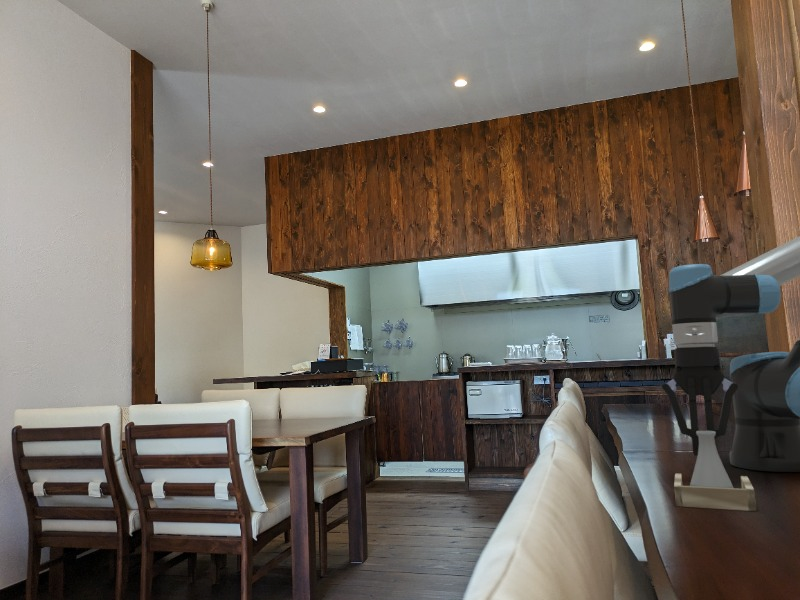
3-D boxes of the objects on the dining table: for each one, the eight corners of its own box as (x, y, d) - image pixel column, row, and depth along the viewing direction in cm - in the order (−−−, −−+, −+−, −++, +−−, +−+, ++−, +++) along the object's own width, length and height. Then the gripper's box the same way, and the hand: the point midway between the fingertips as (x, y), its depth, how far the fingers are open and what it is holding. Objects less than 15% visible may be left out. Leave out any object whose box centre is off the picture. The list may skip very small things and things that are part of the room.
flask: (741, 493, 98) (735, 433, 99) (695, 493, 99) (689, 434, 100) (726, 485, 105) (720, 429, 106) (683, 484, 106) (678, 429, 107)
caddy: (676, 490, 102) (675, 473, 102) (749, 494, 97) (747, 476, 97) (675, 506, 91) (674, 486, 92) (756, 511, 87) (754, 490, 87)
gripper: (657, 347, 109) (666, 475, 106) (736, 344, 103) (748, 480, 101) (659, 347, 116) (668, 468, 113) (734, 345, 110) (745, 472, 107)
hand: (706, 473), depth 107 cm, fingers closed
